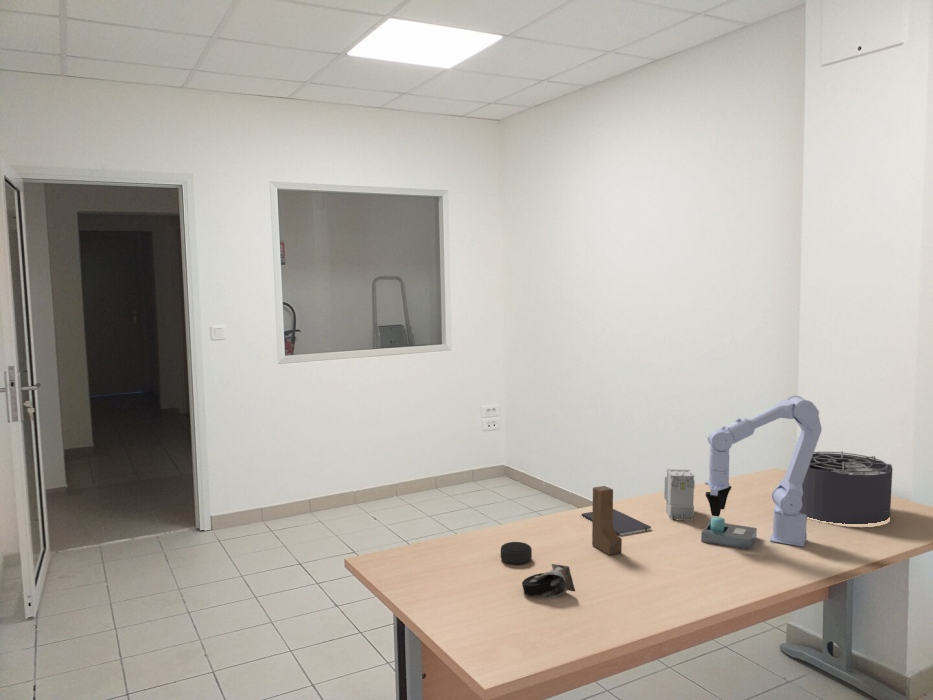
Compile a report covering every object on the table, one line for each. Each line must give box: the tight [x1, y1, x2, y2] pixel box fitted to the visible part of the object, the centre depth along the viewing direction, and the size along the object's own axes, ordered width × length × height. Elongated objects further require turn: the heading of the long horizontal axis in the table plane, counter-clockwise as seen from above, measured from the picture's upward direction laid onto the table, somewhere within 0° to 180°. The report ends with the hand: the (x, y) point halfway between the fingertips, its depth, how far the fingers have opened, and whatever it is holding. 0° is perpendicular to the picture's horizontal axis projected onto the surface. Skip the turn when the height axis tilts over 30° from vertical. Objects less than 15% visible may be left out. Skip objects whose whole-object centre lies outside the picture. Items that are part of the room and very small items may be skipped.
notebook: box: [581, 508, 652, 537], centre depth 241 cm, size 13×2×21 cm
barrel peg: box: [710, 516, 726, 532], centre depth 227 cm, size 4×4×6 cm
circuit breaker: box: [663, 468, 696, 521], centre depth 250 cm, size 8×14×15 cm, turn 174°
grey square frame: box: [700, 520, 758, 550], centre depth 225 cm, size 14×12×3 cm
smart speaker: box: [500, 541, 533, 565], centre depth 211 cm, size 9×9×4 cm
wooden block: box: [591, 485, 623, 556], centre depth 217 cm, size 9×4×18 cm, turn 24°
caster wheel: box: [521, 563, 576, 599], centre depth 188 cm, size 7×11×10 cm
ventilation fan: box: [799, 450, 893, 524], centre depth 249 cm, size 30×18×30 cm
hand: (718, 512), depth 226 cm, fingers open, 7 cm apart
